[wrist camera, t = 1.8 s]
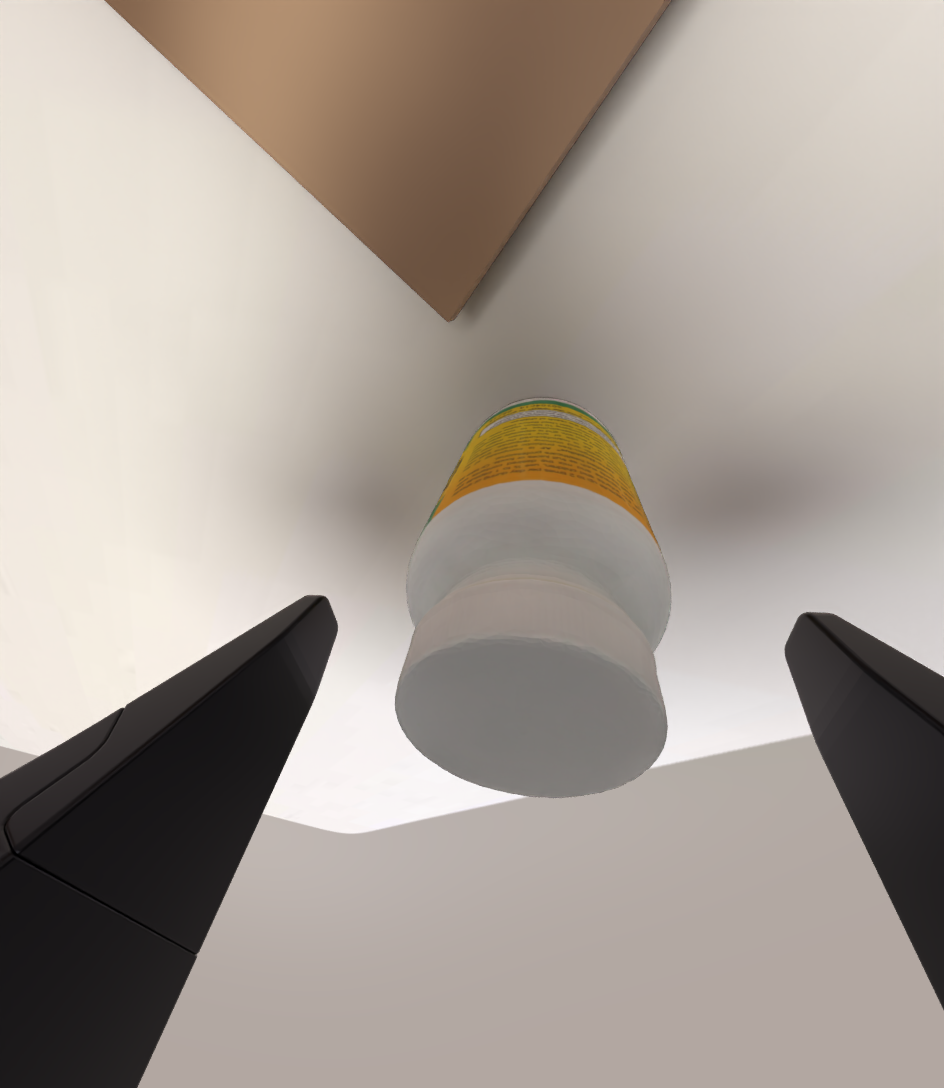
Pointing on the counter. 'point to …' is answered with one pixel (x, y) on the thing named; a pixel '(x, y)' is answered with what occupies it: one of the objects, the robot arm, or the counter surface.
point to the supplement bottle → (537, 612)
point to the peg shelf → (408, 108)
